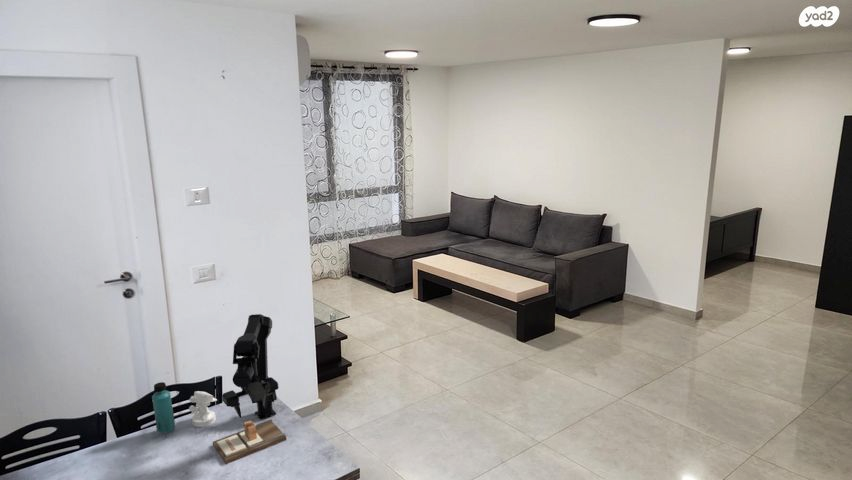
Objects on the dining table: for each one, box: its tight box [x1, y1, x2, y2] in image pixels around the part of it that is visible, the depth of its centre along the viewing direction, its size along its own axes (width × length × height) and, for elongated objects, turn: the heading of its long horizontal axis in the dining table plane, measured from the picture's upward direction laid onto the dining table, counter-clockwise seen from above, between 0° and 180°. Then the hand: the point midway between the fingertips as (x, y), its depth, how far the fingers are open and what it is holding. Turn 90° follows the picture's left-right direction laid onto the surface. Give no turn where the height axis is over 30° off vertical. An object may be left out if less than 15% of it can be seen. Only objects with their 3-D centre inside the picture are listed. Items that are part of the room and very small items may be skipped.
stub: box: [239, 419, 263, 447], centre depth 194 cm, size 10×5×6 cm, turn 38°
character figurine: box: [188, 390, 218, 428], centre depth 208 cm, size 9×10×12 cm
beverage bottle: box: [151, 381, 176, 434], centre depth 200 cm, size 6×7×20 cm
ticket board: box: [212, 419, 287, 465], centre depth 194 cm, size 14×22×2 cm, turn 128°
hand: (252, 412), depth 192 cm, fingers open, 9 cm apart
